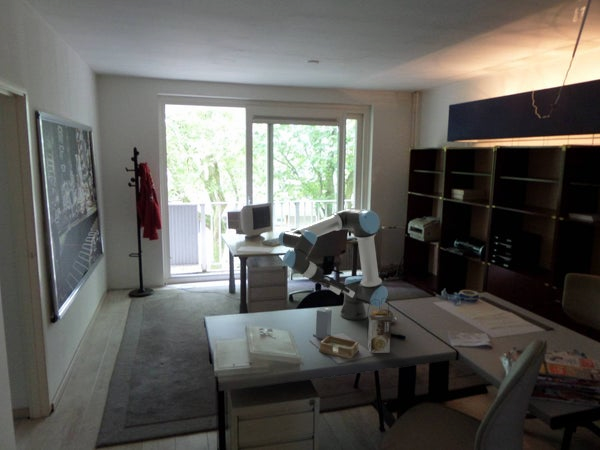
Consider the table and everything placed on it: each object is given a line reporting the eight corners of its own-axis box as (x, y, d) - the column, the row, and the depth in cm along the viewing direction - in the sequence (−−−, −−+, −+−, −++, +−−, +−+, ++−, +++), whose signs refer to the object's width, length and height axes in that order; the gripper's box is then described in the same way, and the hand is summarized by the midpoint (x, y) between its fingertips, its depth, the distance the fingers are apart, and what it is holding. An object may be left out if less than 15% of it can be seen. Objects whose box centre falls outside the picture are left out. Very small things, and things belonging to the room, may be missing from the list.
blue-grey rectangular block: (316, 333, 216) (317, 305, 214) (334, 337, 212) (335, 308, 210) (312, 336, 212) (313, 308, 210) (330, 340, 207) (331, 311, 206)
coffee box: (386, 347, 201) (388, 314, 199) (389, 353, 194) (391, 319, 192) (367, 347, 200) (369, 314, 198) (370, 353, 194) (372, 319, 192)
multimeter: (373, 344, 204) (375, 304, 202) (364, 336, 214) (366, 298, 211) (400, 342, 208) (402, 302, 206) (390, 334, 218) (392, 296, 215)
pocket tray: (327, 343, 203) (328, 335, 203) (358, 350, 197) (358, 341, 196) (319, 351, 194) (319, 342, 194) (351, 358, 187) (351, 349, 187)
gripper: (298, 277, 209) (331, 298, 215) (320, 280, 186) (356, 303, 192) (305, 264, 211) (337, 285, 217) (327, 266, 188) (363, 289, 194)
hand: (346, 293), depth 205 cm, fingers open, 13 cm apart
